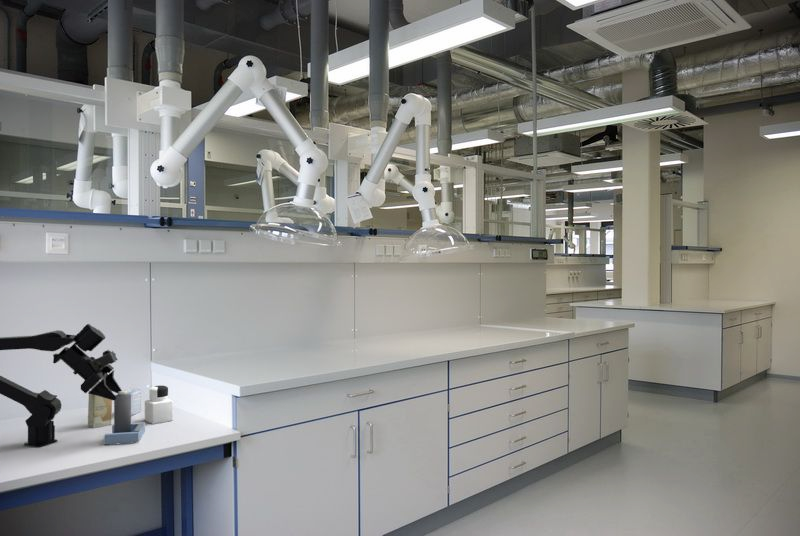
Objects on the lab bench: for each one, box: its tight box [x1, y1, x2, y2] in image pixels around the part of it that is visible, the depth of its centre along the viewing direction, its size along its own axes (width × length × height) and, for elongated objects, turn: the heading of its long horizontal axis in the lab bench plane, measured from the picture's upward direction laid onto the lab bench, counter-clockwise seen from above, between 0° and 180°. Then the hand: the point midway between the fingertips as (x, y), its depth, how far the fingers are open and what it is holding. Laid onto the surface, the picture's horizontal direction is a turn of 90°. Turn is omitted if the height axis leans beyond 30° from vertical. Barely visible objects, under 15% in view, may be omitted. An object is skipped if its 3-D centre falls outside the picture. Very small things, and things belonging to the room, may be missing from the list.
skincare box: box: [87, 389, 113, 429], centre depth 201 cm, size 6×4×12 cm
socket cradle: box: [103, 422, 146, 445], centre depth 186 cm, size 10×12×3 cm
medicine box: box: [124, 388, 142, 417], centre depth 216 cm, size 8×4×9 cm, turn 172°
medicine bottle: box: [144, 385, 174, 425], centre depth 207 cm, size 7×7×12 cm
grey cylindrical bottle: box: [113, 390, 132, 433], centre depth 186 cm, size 5×5×14 cm
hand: (118, 396), depth 186 cm, fingers open, 9 cm apart
